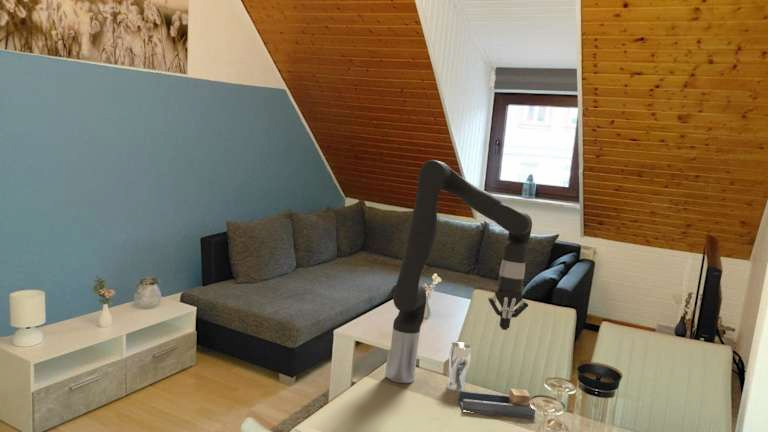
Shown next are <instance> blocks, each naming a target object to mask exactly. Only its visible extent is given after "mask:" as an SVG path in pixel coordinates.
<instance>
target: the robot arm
mask: <svg viewBox="0 0 768 432" xmlns="http://www.w3.org/2000/svg"><path fill="white" fill-rule="evenodd" d="M417 178H418V180H417V190H416V196H415V203H414V206H413V211H412V215H411V219H410V220H411V221H410V225H409V226H408V227H409V228H408V233H407V238H406V244H405V249H404V253H403V258H402V262H401V267H400V272H399V274H398V278H397V281H396V284H395V286H394V291H393V296H392V300H393V305H394V307H395V308H396V309H397V310H398V314H397V316H396V317H395V318H394V320H393V326H392V335H391V342H390V348H389V349H388V350H387V357H386V363H385V364H386V365H385V371H384V372H385V373H384V377H385V378H387V379H388V380H389V381H391V382H393V383H399V384H410V383H413V382H414V381H415V376H416V375H415V374H416V367H417V366H416V365H417V359H418V358H417V357H418V349H419V340H420V334H421V333H420V332H421V328H422V327H421V326H422V324H423V322H424V319H425V318H424V317H425V312H426V306H427V292H426V288H425V287H424V286H423V285H422V284H421V283H420V279H421V276H422V273H423V270H424V268H425V266H426V265H427V262H428V260H429V259H430V256H431V255H432V252H433V250H434V246H435V242H436V238H437V232H438V231H437V230H438V213H437V212H438V211H437V205H438V201H439V197H440V193H441V191H444V192H446V193H449V194H451V195H454V196H455V197H456V198H458V199H460V200H461V201H463V202H464V203H465V204H466V205H467V206H469V207H470V208H471V209H472V210H474V211H475V212H478V213H479V214H481V215H482V216H483V217H485V218H487V219H489V220H491V221H493V222H495V223H496V224H497V225H498V226H500V227H501V228H502V229H504V230H505V231H507V232H508V236H507V241H506V242H505V244H504V249H503V255H502V260H501V264H500V269H499V276H498V282H497V290H496V291H495V293H494V295H492V296H489V297H488V298H487V300H488V302H489V304H490V305H491V308H492V309H493V312H494V313H495V314H496V315H497V316H499V318H500V319H499V327H500V329H501V330H503V331H507V330H508V329H510V325H511V319H514V318H517V317H518V316H519V315H520V314H521V313H523V311H525V310H526V309H527V308H528V307H529V304H528V302H526V301H525V300H524V297H523V295H522V294H523V287H524V280H525V279H524V278H525V273H526V261H527V254H528V244H529V243H530V242H529V241H530V236H531V233H532V228H533V221H532V218H531V216H530V215H529V214H528V213H525V212H521V211H518V210H516V209H514V208H513V207H511V206H510V205H507V203H506V202H504V200H502V199H501V198H499V197H497V196H495V195H493V194H491V193H489V192H487V191H485V190H484V189H482V188H480V187H478V186H477V185H475V184H473V183H471V182H469V181H468V180H467V179H465V178H463V177H462V176H460V174H458V173H457V172H456V171H454V170H453V169H452V168H451V167H450V166H448V165H447V164H446V163H445V162H444V161H439V160H435V159H431V160H428V161H426V162H424V163H423V164H422V166H421V167H420V168H419V173H418V177H417ZM497 301H498V303H499V305H500V310H499V308H498V306H497V304H496V303H497Z"/></svg>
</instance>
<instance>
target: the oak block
mask: <svg viewBox="0 0 768 432" xmlns="http://www.w3.org/2000/svg"><path fill="white" fill-rule="evenodd" d="M508 395H509V402H508V404H517V405H527V406H529V404H530V403H529V401H531V395H530V393H529V392H528V390H526V389H521V388H520V389H519V388H509V394H508Z"/></svg>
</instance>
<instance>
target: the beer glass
mask: <svg viewBox="0 0 768 432" xmlns="http://www.w3.org/2000/svg"><path fill="white" fill-rule="evenodd" d="M471 351H472V346H471V345H470V344H469V343H466V342H461V341H459V342H458V341H453V342H451V346H450V351H449V355H448V356H449V358H448V367H449V371H448V372H449V374H448V375H449V376H448V382H447V384H446V388H447V389H448V390H449V391H452V392H456V393H459V391H460V390H464V391H466V377H467V372H468V370H469V367H470V363H471V354H472V353H471Z"/></svg>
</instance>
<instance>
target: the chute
mask: <svg viewBox="0 0 768 432" xmlns="http://www.w3.org/2000/svg"><path fill="white" fill-rule="evenodd" d="M457 402H458V404H459V406H460V409H461V408H462V409H463V410H466V411H470V412H474V413H478V414H477V415H485V416H494V417H495V416H496V417H505V418H515V419H523V420H535V418H536V417H535V415H536V409H535V410H534V409H532V408H531V406H530V404H529V406H527V405H517V404H508V402H509V394H501V393H492V392H482V391H481V392H480V391H471V390H465V391H464V390H460V391H459V392H458V399H457ZM462 409H461V410H462ZM474 413H473V414H474Z"/></svg>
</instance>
